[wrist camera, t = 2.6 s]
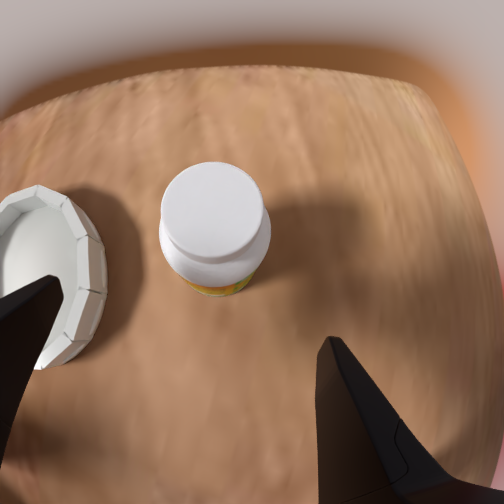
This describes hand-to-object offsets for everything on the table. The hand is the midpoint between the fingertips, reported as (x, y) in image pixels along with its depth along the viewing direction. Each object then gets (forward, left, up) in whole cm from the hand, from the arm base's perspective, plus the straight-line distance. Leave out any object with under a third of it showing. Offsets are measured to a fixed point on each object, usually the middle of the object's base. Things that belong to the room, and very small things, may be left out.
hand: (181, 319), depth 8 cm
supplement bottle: (+3, -3, -11) cm, 12 cm away
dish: (+11, +10, -11) cm, 18 cm away
